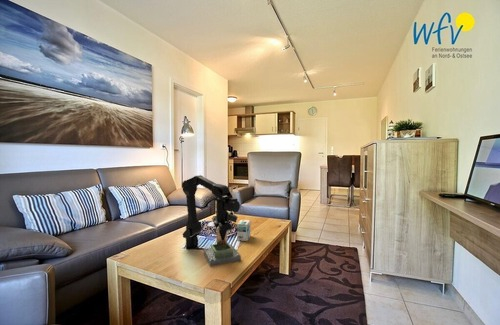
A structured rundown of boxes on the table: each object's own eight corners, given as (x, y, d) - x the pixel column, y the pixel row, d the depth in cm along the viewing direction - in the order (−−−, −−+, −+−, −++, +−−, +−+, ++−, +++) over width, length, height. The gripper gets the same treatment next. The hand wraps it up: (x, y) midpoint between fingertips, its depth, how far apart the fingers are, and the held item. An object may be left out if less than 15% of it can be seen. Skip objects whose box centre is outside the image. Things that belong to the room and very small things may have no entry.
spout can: (217, 246, 122) (217, 228, 122) (215, 242, 127) (215, 225, 127) (231, 244, 125) (231, 226, 124) (228, 241, 130) (228, 223, 130)
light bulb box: (247, 241, 148) (247, 224, 148) (236, 240, 150) (236, 223, 149) (250, 235, 159) (250, 219, 158) (240, 235, 160) (240, 219, 160)
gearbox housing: (210, 266, 115) (210, 255, 115) (203, 253, 130) (203, 243, 130) (240, 260, 121) (240, 250, 121) (231, 248, 136) (231, 239, 136)
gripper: (241, 212, 119) (241, 242, 120) (230, 204, 137) (230, 231, 137) (220, 214, 115) (220, 245, 116) (211, 206, 132) (211, 233, 133)
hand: (221, 238), depth 126 cm, fingers closed on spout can, 5 cm apart
